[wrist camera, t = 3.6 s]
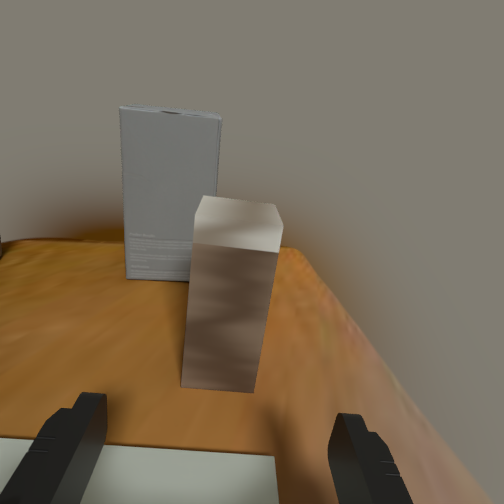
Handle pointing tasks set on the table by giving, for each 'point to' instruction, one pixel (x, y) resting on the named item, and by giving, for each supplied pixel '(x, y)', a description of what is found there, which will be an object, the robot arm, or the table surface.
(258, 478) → the mat
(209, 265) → the walnut block
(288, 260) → the table surface
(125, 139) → the skincare box
